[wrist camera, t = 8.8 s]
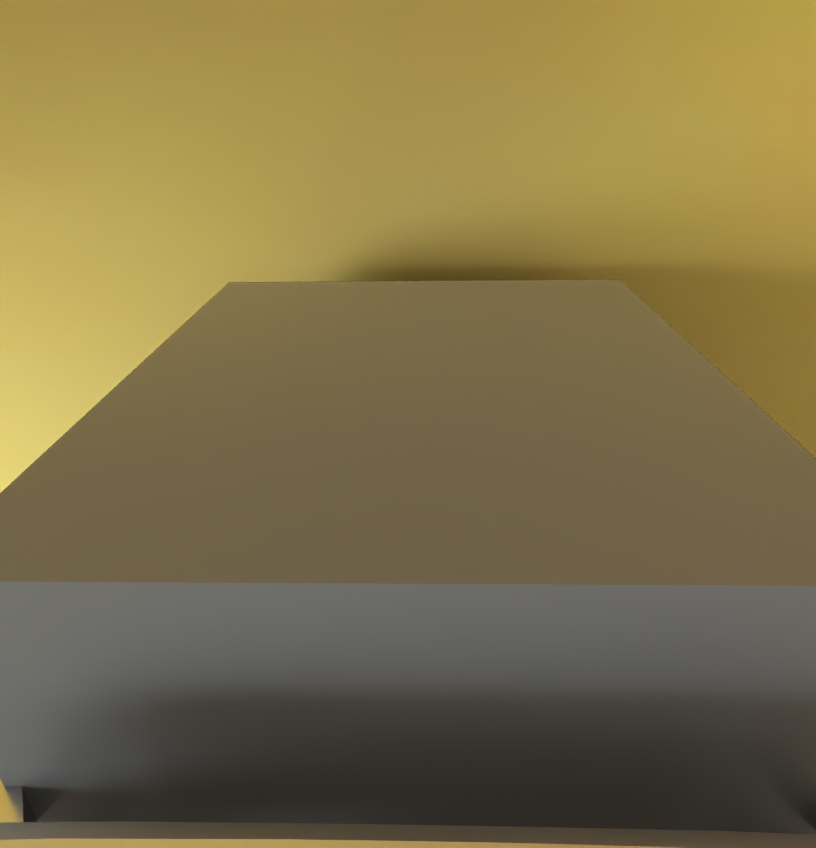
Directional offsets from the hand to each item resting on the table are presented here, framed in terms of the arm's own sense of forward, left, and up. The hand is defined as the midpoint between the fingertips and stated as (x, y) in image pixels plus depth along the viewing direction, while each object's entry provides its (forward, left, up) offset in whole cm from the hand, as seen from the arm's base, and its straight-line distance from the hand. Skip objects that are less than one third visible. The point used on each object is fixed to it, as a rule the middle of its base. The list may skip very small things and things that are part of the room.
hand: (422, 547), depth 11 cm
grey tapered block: (0, 0, -4) cm, 4 cm away
